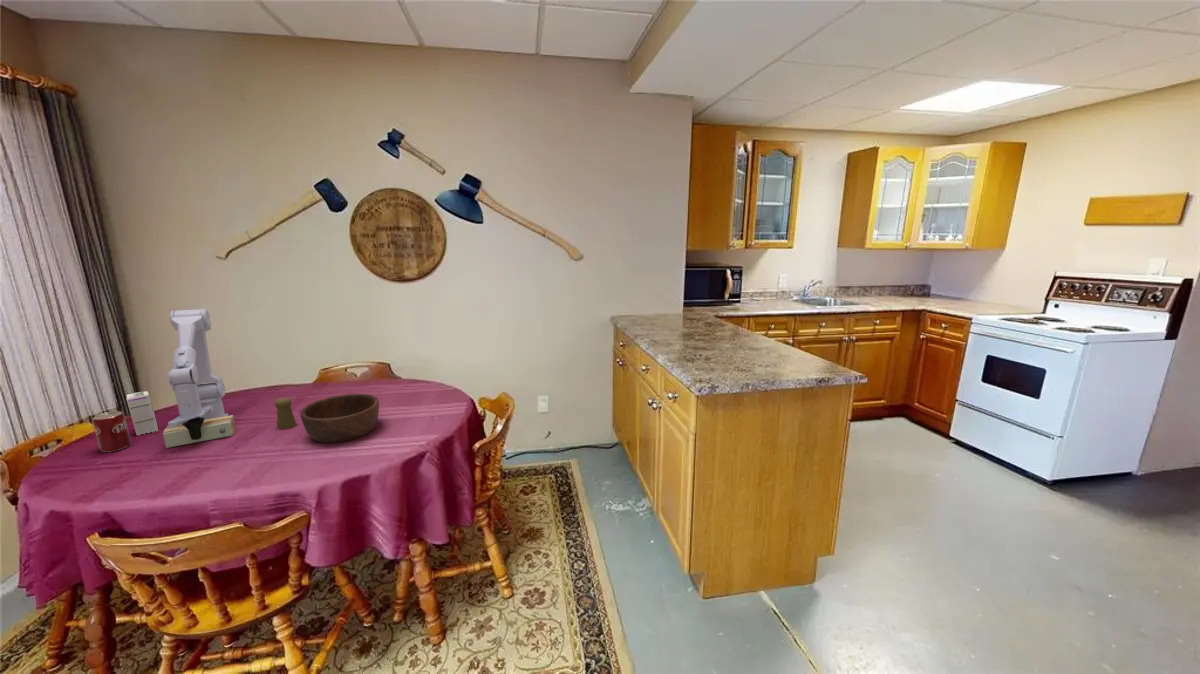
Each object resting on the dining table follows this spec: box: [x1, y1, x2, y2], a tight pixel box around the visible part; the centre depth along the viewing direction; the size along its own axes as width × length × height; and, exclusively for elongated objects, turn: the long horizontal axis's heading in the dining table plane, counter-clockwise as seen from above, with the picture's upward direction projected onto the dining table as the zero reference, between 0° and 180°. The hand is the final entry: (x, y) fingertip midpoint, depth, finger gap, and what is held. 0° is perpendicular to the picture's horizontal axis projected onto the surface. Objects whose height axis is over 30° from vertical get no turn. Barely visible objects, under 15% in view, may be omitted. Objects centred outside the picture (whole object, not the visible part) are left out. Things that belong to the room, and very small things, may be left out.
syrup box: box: [126, 390, 159, 436], centre depth 162 cm, size 6×6×14 cm
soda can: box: [91, 410, 132, 453], centre depth 150 cm, size 7×7×12 cm
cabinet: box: [162, 414, 237, 436], centre depth 159 cm, size 6×18×6 cm, turn 123°
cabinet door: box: [162, 422, 234, 449], centre depth 155 cm, size 2×18×5 cm, turn 124°
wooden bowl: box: [300, 393, 380, 444], centre depth 165 cm, size 25×25×10 cm
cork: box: [274, 397, 297, 430], centre depth 168 cm, size 6×6×11 cm
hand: (196, 438), depth 154 cm, fingers closed, pressing on cabinet door
